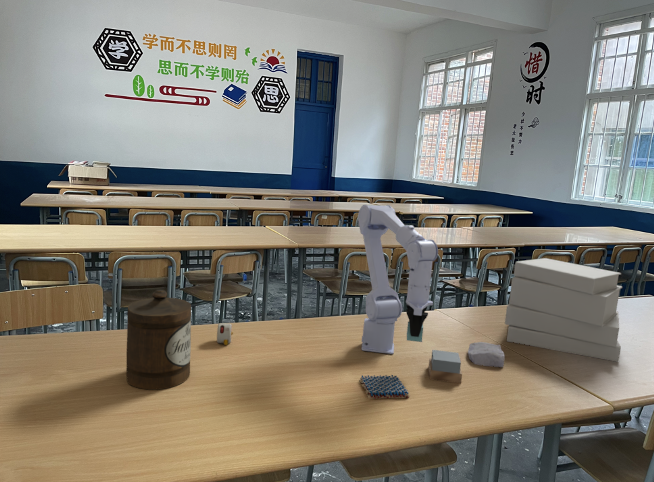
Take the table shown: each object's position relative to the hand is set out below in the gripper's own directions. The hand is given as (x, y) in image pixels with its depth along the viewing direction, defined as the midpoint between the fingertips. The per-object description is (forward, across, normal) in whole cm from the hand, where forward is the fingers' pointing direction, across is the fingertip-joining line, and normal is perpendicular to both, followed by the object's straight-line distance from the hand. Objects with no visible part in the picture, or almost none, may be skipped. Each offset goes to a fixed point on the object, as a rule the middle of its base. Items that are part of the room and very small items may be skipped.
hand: (414, 333), depth 131 cm
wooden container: (+11, -23, +62) cm, 67 cm away
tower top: (+8, -1, -9) cm, 12 cm away
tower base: (+11, -1, -9) cm, 14 cm away
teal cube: (+2, 0, 0) cm, 2 cm away
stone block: (+11, +15, -22) cm, 29 cm away
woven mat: (+11, -14, +7) cm, 19 cm away
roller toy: (+11, +3, +55) cm, 56 cm away
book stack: (+11, +40, -50) cm, 65 cm away
